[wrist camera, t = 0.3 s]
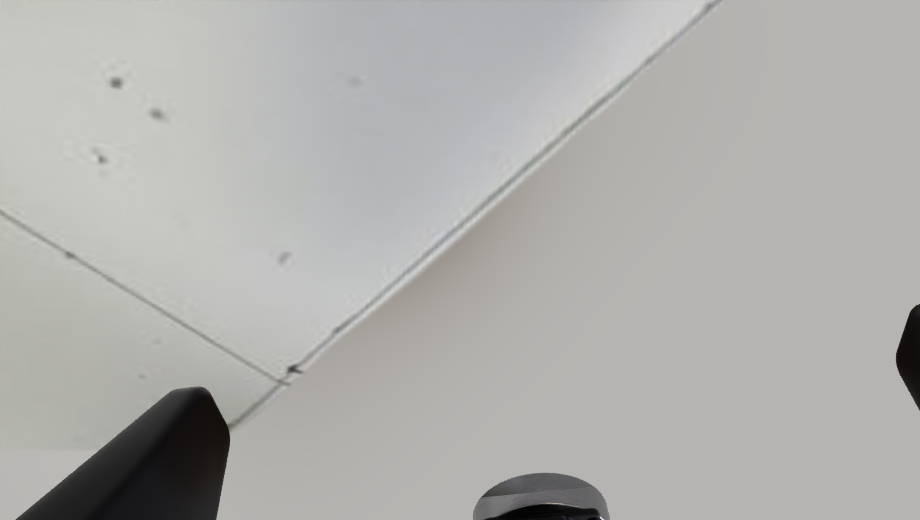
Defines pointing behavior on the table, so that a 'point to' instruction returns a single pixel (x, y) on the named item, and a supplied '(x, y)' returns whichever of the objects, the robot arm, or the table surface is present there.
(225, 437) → the robot arm
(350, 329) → the table surface
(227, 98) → the table surface
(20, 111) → the table surface
